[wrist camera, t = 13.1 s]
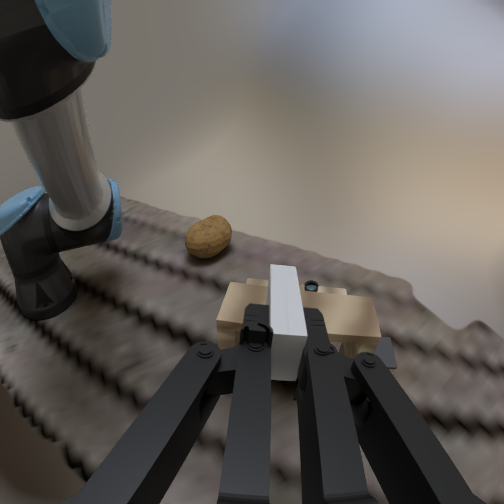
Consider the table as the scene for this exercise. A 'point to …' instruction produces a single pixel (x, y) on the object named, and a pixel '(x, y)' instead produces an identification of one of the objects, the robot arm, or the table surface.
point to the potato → (208, 237)
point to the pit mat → (386, 352)
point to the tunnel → (325, 299)
